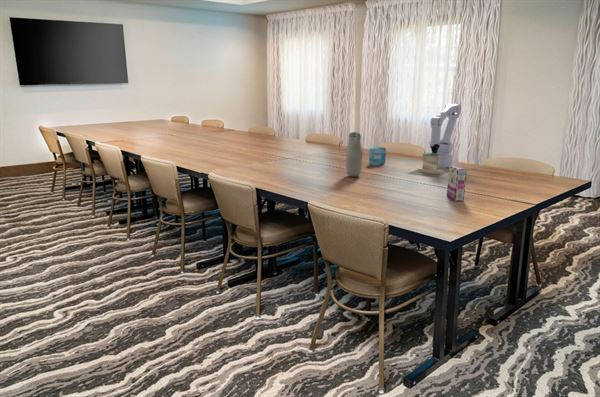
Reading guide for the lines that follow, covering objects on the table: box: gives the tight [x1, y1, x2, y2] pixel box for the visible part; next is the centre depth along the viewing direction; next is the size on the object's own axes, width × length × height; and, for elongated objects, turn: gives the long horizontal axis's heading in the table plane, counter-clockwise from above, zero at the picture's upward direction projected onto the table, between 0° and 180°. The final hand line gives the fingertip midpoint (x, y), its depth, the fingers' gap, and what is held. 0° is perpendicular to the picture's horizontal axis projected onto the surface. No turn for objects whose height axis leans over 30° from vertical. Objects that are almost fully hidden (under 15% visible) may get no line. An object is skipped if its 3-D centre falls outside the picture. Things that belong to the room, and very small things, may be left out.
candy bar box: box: [446, 165, 467, 202], centre depth 237 cm, size 11×5×16 cm, turn 5°
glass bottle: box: [345, 131, 364, 178], centre depth 289 cm, size 10×10×28 cm
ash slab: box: [421, 152, 439, 170], centre depth 301 cm, size 4×9×12 cm, turn 55°
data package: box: [368, 146, 387, 166], centre depth 330 cm, size 12×4×12 cm, turn 125°
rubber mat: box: [407, 168, 448, 178], centre depth 300 cm, size 21×20×2 cm
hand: (434, 155), depth 310 cm, fingers closed
